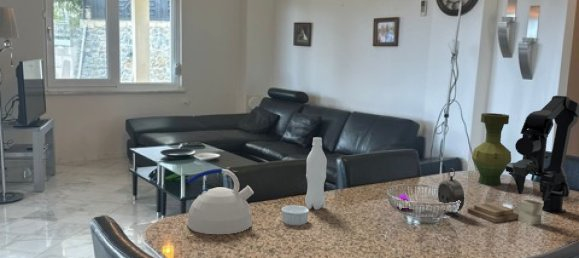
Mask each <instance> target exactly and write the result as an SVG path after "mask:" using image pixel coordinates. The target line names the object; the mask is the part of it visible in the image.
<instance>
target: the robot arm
mask: <svg viewBox="0 0 579 258" xmlns="http://www.w3.org/2000/svg"><path fill="white" fill-rule="evenodd" d="M578 121H579V103H578V102H577V101H574V100H572V99H571V98H570V97H568V96H566V95H553V96H552V97H551V100H550V101H548V102H547V104H545V105H544V106H543V108H541V109H540V110H535V111H532V112H530V113H529V114H528V115H527V116H526V118H525V119H524V123H523V126H522V127H521V129H520V134H521V135H522V137H520V138H518V139H517V141H516V142H515V145H514V146H515V150H516V152H517V153H518V154H520V155H521V156H522V159H520V160H517V161H515V162H510V163H508V164H507V166H506V169H505V172H508V175H510V176H511V177H512V178H513V180H514V182H515V186H516V189H517V192H518V195H522V194H523V192H524V188H525V187H524V186H525V182H526V177H527V176H528V175H532V176H535V177H540V178H539V192H540V193H542V196H541V198H542V199H541V200H542V203H543V206H542V211H546V212H549V213H551V214H558V213H564V212H565V213H566V212H567V209H564V208H563V205H564V198H568V197H569V196H570V189H571V188H570V186H569V185H570V184H569V183H568V180H567V179H568V175H567V172H566V170H565V163H566V162H565V161H566V157H567V152H568V147H569V143H570V142H569V141H570V136H571V131H572V128H573V127H574V126H575V125H576V124H577V123H578ZM554 122H555V124H556V129H555V134H554V138H553V139H554V140H553V146H552V150H551V154H550V160H549V164H548V166H547V167H546V166H545V163H546V162H545V161H546V160H547V159H549V158H548V157H549V156H548V154H546V153H547V143H548V138H549V135H550V133H551V131H552V129H553V127H554Z"/></svg>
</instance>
